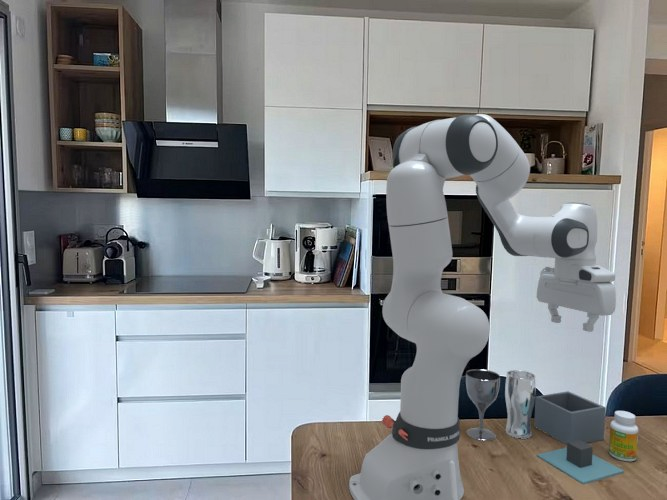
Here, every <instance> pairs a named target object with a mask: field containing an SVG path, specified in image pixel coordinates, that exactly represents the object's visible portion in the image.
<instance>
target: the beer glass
mask: <svg viewBox="0 0 667 500" xmlns="http://www.w3.org/2000/svg"><path fill="white" fill-rule="evenodd" d="M504 385H505V387H504V389H505V390H504V397H505V403H506V404H505V405H506V412H507V420H506V425H505V431H506V432H505V433H506V434H507V436H509V435H510V436H509V437H511V436H512V437H511V438H514V437H515V438H514V439H518V438H521V439H520V440H528V439H530V438H532V436H533V435H532V434H533V433H532V432H533V431H532V426H531V420H532V414H533V411H534V408H535V399H536V395H537V394H536V391H537V389H536V386H537V384H536V375H535V374H533V373H532V372H529V371H526V370H519V369H513V370H512V369H511V370H508V371H507V372H506V378H505V384H504ZM527 438H528V439H527Z"/></svg>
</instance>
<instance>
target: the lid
mask: <svg viewBox="0 0 667 500" xmlns="http://www.w3.org/2000/svg"><path fill="white" fill-rule="evenodd" d="M593 449H594V447H593V446H592V445H590V444H589V443H584V442H582V441H580V440H576V441H571V442H567V445H566V446H565V447H563V448H560V449H554V450H551V451H547V452H542V453H538V454H536V457H537V458H539V459H541V460H542V461H544V462H546V463H547V464H549V465H550V466H552V467H553V468H556V469H557V470H558V471H560V472H562V473H564V474H565V475H566V476H568V477H570V478H572V479H573V480H576V482H578V483H580V484H582V485H586V484H587V485H588V484H589V483H593V482H597V481H600V480H604V479H607V478H611V477H614V476H617V475H622V474H624V473H625V470H624V469H622V468H620V467H618V466H617V465H615V464H612V463H610V462H608V461H606V460H604V459H603V458H601V457H599V456H597V455H595V454H593V452H594V451H593Z"/></svg>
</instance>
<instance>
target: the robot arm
mask: <svg viewBox="0 0 667 500" xmlns="http://www.w3.org/2000/svg"><path fill="white" fill-rule="evenodd" d="M391 155H392V167H393V168H392V169H391V170H390V171H389V173H388V174H387V179H386V192H385V193H386V194H385V195H386V199H385V200H386V202H385V203H386V216H387V217H386V218H387V223H388V232H389V238H390V247H391V253H392V262H393V268H392V269H393V272H392V282H391V288H390V291H389V293H388V294H387V296H386V297H385V298H384V300H383V304H382V308H381V309H382V311H381V313H382V318H383V320H384V322H385V324H386V325H387V326H388V327H389V328H390V329H391V330H392V331H393V332H394V333H395V334H396V335H398V336H399V337H400V338H402V339H405V340H407V341H408V342H411V343H414V344H415V345H416V354H415V358H414V361H413V364H412V366H410V367H408V368H407V369H406V370H404V372H403V374H402V375H401V379H400V406H399V408H400V409H399V410H400V411H399V412H398V415H397V417H396V419H394V418H392V417H391V415H388V414H386V415H384V416H383V418H382V419H381V424H383V425H384V426H385V427H386V428H387V429H391V433H390V434H388V435H387V436H386V437H385V438H384V439H382V440H381V441H380V442H379V443H378V444H377V445H375V446H374V447H373V448H372V449H371V450H369V451H368V452H367V453H366V454H365V456H364V457H363V460H362V463H361V464H362V465H361V469H360V473H356V474H354V475H352V476H350V478H349V481H348V482H349V483H348V488H349V489H348V490H349V493H350V495H351V496H352V497H351V498H353V500H462V498H463V497H464V494H465V488H464V484H463V480H462V475H461V471H460V463H459V451H458V446H459V445H458V442H459V441H460V435H461V434H460V433H461V432H460V431H461V430H460V429H461V427H460V424H461V423H460V418H459V417H458V415H459V399H460V398H459V397H460V385H461V379H462V377H463V373H464V370H465V369H466V366H467V364H468V363H469V361H470V360H472V359H473V358H474V357H476V356H477V355H479V354H480V353H481V352H482V351H483V349H484V348H485V347H486V345H487V342H488V340H489V337H490V329H491V328H490V322H489V321H490V320H489V319H488V316H487V314H486V313H485V312H484V310H482V309H481V308H480V307H479V306H477V305H475V304H474V303H472V302H470V301H468V300H466V299H465V298H462V297H461V296H456V295H453V294H448V293H444V292H443V291H442V288H441V287H442V286H441V283H442V274H443V271H444V269H445V268H446V267H447V266H448V265H449V264H450V263H451V261H452V259H453V248H452V247H453V246H452V239H451V231H450V224H449V216H448V210H447V209H448V208H447V202H446V197H445V194H444V184H445V182H446V179H451V178H457V177H461V176H464V175H468V176H470V178H471V179H472V180H473V181H474V183H475V184H476V185H475V195H476V196H477V199H478V201H479V203H480V205H481V207H482V208H483V210H484V212H485V213H486V215H487V216H488V218H489V219H490V221H491V223H492V225H493V226H494V228H495V230H496V231H497V233H498V236H499V239H500V242H501V245H502V247H503V249H504V250H505V251H506V252H507V253H508V254H509V255H510V256H514V257H536V258H537V257H539V258H548V259H549V258H550V259H554V267H551V266H546V267H544V268H542V270H540V272H539V273H540V276H539V280H538V282H537V288H536V298H537V301H538V302H541V303H544V304H547V309H548V311H549V313H550V315H551V317H550V319H551V320H550V321H551V323H555V324H560V323H561V322H562V315H560V314H559V312H558V309H559V307H561V308H562V307H563V308H566V309H570V310H571V309H572V310H575V311H579V312H584V313H586V314H587V315H586V317H587V322H583V323H582V330H583V331H585V332H588V333H589V332H591V333H592V332H594V328H595V327H594V326H595V324H596V323H597V321H598V319H599V318H600V316H603V317H604V316H606V317H607V316H611V315H613V314H614V313H615V311H616V307H617V306H616V304H617V291H616V287H615V285H614V284H613V283H612V282H615V280H616V274H615V273H614V272H613V271H612V270H609V269H607V268H605V267H604V266H601V265H599V264H598V263H597V260H596V259H597V257H596V253H595V252H596V251H595V250H596V249H595V248H596V245H597V242H598V218H597V217H598V216H597V212H596V211H597V210H596V209H595V207H594V206H592V205H591V204H587V203H583V202H582V203H581V202H566V203H562V204H561V205H560V207H559V208H560V209H559V210H558V211H557V212H556V213H554V214H552V215H551V216H529V215H528V216H527V215H524V214H521V213H518V212H517V211H516V209H515V207H514V206H513V204H512V202H511V201H510V200H511V198H513V197H515V196H516V195H517V194H518V193H520V191H522V189H523V188H524V187H525V185H526V184H527V182H528V179H529V177H530V173H531V164H530V162H529V159H528V156H526V153H525V152H524V151H523V149H522V148H521V147H520V145H519V144H518V143H517V141H516V140H515V139H514V138H513V136H512V135H511V134H510V133H509V132H508V131H507V130H506V129H505V127H503V126H502V125H501V124H500V123H499V122H498V121H497V120H496V119H494V118H493V117H492V116H491V115H488V114H485V113H484V114H483V113H477V114H461V115H459V116H457V117H450V118H445V119H435V120H432V121H428V122H425V123H422V124H420V125H417V126H412V127H410V128H408V129H406V130H405V131H403V132H401V134H400V135H398V136H397V137H396V139H395V141H394V144H393V147H392V154H391Z"/></svg>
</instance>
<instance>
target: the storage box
mask: <svg viewBox="0 0 667 500" xmlns="http://www.w3.org/2000/svg"><path fill="white" fill-rule="evenodd" d="M606 409H607V408H606V406H603V405H601V404H599V403H596V402H594V401H592V400H590V399H588V398H585V397H583V396H581V395H577V394H575V393H574V392H570V391H562V392H557V393H555V392H554V393H549V394H542V395H535V402H534V424H533V425H534V427H533V428H535V427H537V428H538V429H537V428H536V429H537V430H539V429H540V430H542V431H544V432H546V433H547V434H546V433H545V434H546V435H548V434H549V435H551V436H553V437H554V438H553V437H552V438H553V439H555V438H556V439H555V440H557V439H558V440H559V442H560V441H561V443H562V442H563V443H562V444H564V445H566V446H567V442H571V441H576V440H580V441H582V442H584V443H586V444H589V443H588V442H590V443H593V442H599V441H602V440H605V426H606V425H605V424H606ZM540 430H539V431H540ZM542 431H541V432H542ZM544 432H543V433H544ZM549 435H548V436H549ZM551 436H550V437H551ZM558 440H557V441H558Z"/></svg>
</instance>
